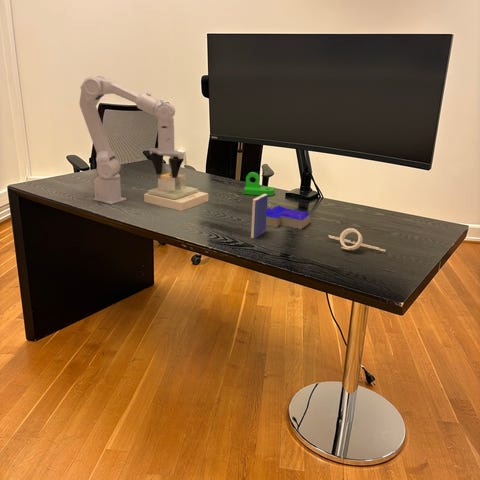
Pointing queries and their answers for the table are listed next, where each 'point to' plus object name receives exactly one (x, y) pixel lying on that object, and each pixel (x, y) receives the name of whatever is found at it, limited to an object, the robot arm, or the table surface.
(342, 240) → the beige ring with bar
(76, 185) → the table surface
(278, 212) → the blue beige flat block
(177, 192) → the pan
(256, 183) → the mechanical part
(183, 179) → the tan brown block
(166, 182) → the tan brown block
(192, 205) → the scale housing
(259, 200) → the hard drive
